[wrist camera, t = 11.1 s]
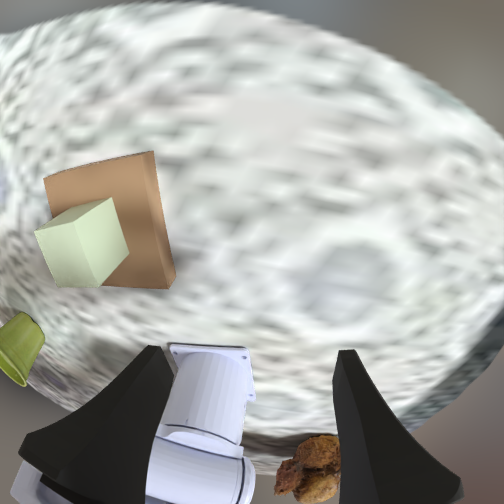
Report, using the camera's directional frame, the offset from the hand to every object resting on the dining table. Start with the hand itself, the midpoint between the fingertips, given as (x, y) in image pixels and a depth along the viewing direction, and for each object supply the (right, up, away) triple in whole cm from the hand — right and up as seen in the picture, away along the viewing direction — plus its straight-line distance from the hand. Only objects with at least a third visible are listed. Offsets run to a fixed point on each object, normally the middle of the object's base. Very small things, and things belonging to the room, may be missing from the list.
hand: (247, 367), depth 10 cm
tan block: (-11, +7, +10) cm, 17 cm away
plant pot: (-34, -7, +20) cm, 40 cm away
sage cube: (-11, +6, +8) cm, 15 cm away
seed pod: (+12, -27, +25) cm, 39 cm away
